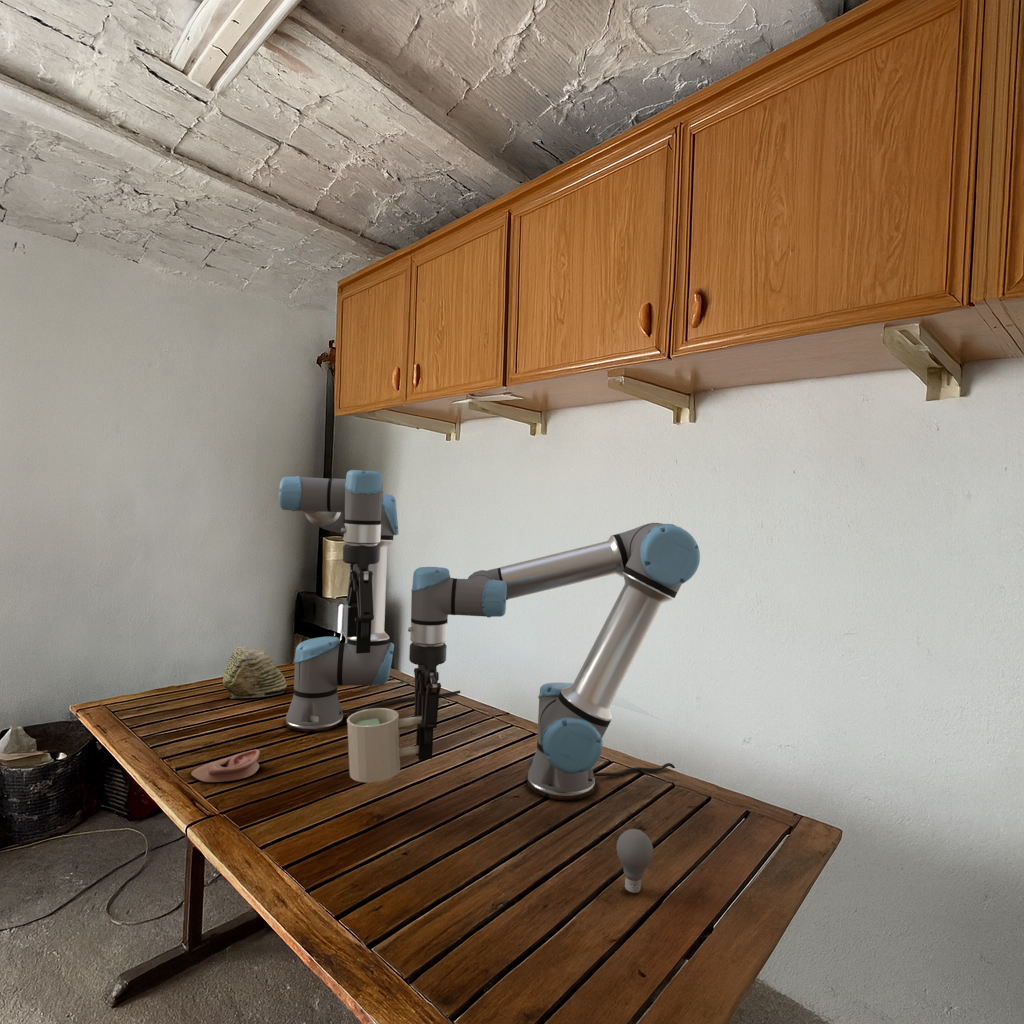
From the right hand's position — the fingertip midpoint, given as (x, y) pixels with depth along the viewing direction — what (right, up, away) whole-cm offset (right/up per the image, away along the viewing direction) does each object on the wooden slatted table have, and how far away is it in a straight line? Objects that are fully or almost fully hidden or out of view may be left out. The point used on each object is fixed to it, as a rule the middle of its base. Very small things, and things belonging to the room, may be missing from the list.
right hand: (423, 756), depth 130 cm
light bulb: (+38, -13, -25) cm, 47 cm away
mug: (-6, -1, -2) cm, 7 cm away
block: (-10, -1, -4) cm, 11 cm away
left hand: (-14, +22, +3) cm, 27 cm away
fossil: (-62, -7, +68) cm, 92 cm away
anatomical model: (-47, -9, +13) cm, 49 cm away
